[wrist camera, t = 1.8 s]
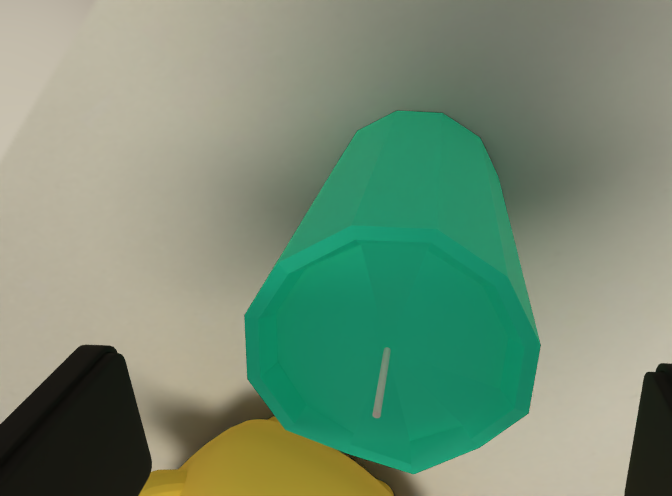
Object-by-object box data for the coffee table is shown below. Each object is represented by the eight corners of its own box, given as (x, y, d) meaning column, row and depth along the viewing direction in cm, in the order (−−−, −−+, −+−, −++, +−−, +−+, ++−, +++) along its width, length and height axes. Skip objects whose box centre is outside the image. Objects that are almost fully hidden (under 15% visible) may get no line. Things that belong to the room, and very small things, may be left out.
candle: (299, 183, 22) (152, 385, 11) (422, 70, 19) (389, 187, 8) (405, 293, 23) (367, 574, 12) (534, 200, 20) (630, 448, 10)
